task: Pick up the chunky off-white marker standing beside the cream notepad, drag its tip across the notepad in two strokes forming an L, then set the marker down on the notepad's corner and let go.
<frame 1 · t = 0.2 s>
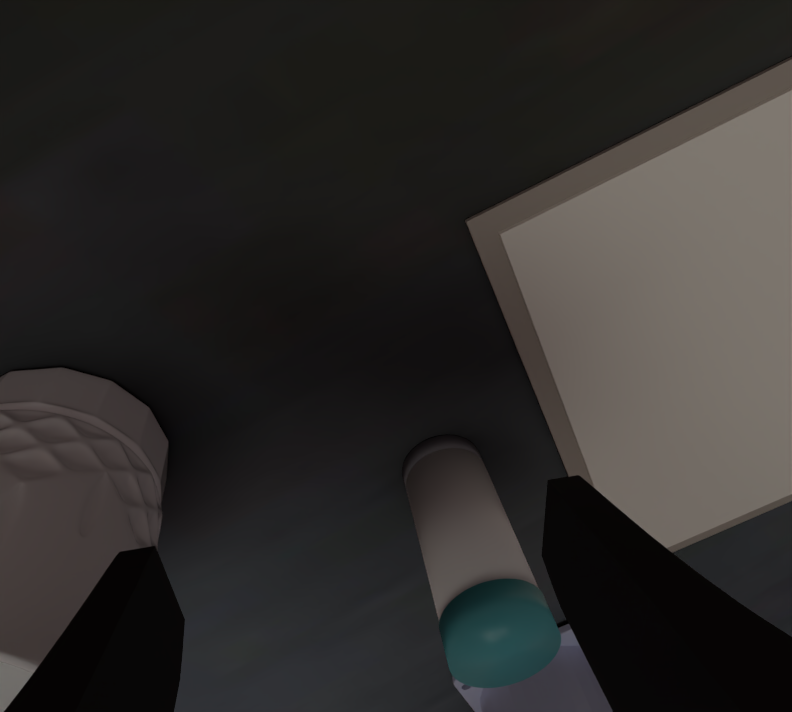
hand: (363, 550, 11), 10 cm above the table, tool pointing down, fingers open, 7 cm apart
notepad: (728, 355, 23), on the table
white cup: (69, 444, 20), on the table
marker: (441, 467, 23), on the table
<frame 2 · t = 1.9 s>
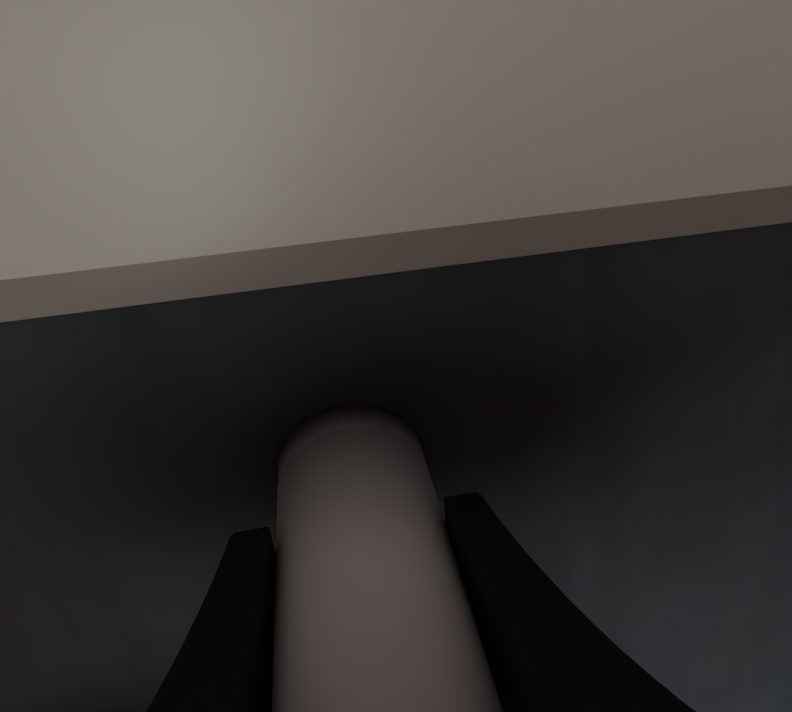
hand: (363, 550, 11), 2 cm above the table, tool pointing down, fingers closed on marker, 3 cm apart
marker: (351, 465, 13), on the table, touching gripper
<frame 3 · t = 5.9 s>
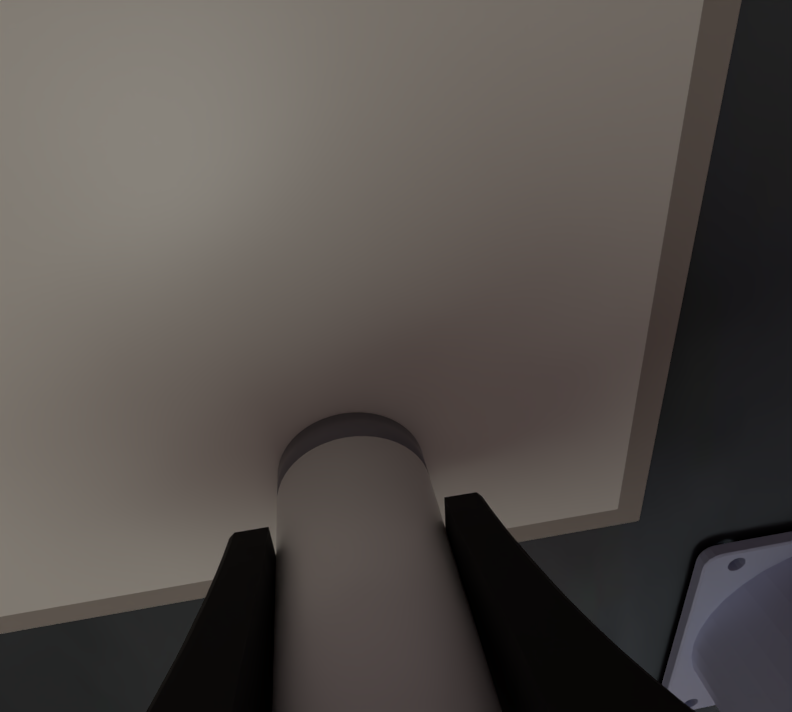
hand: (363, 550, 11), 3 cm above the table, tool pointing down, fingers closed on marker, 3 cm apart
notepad: (182, 313, 11), on the table
marker: (351, 472, 13), resting on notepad, touching gripper
when the fingers open (4 cm above the table, at t = 9.6 s): marker drops 1 cm, resting on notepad.
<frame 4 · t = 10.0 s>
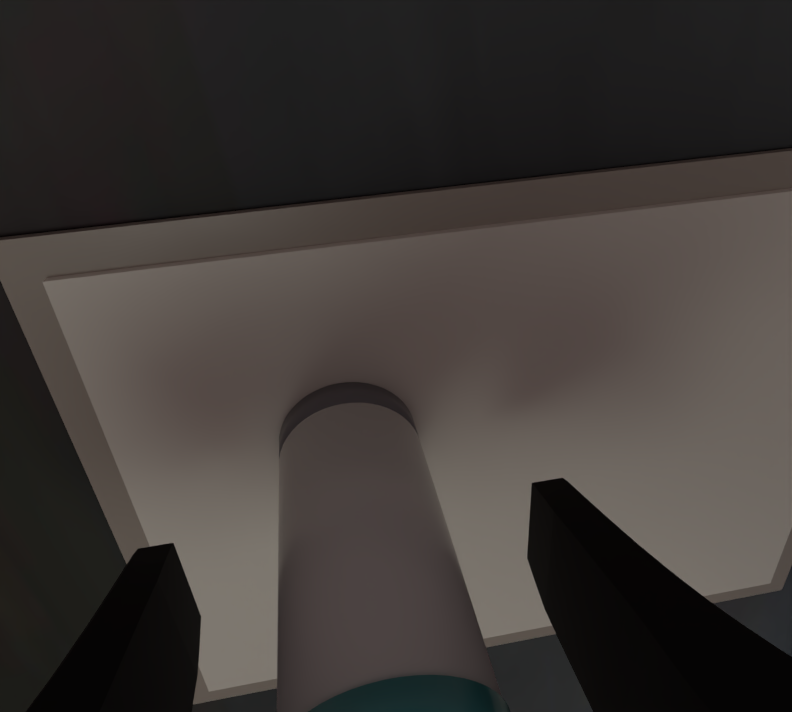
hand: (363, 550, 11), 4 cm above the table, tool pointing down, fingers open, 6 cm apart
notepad: (504, 465, 16), on the table
marker: (348, 439, 14), resting on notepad
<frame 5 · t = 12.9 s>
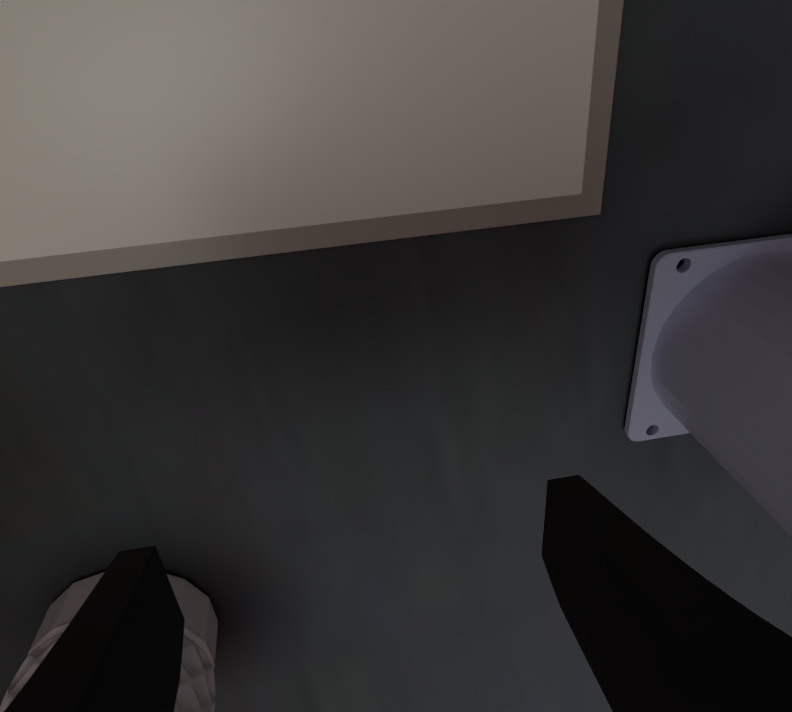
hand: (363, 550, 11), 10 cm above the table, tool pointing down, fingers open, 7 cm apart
white cup: (136, 616, 25), on the table
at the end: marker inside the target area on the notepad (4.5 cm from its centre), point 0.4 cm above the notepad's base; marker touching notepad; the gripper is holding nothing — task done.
